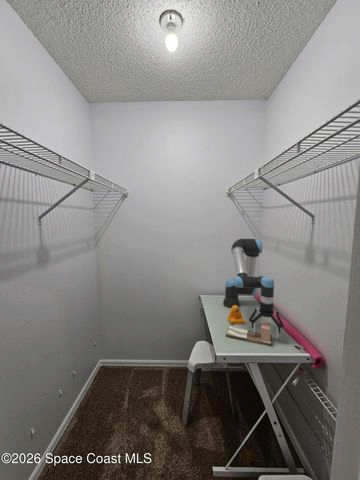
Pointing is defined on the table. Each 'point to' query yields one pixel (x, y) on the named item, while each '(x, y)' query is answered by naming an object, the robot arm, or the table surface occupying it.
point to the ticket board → (247, 336)
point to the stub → (265, 331)
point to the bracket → (235, 316)
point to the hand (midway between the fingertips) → (265, 334)
